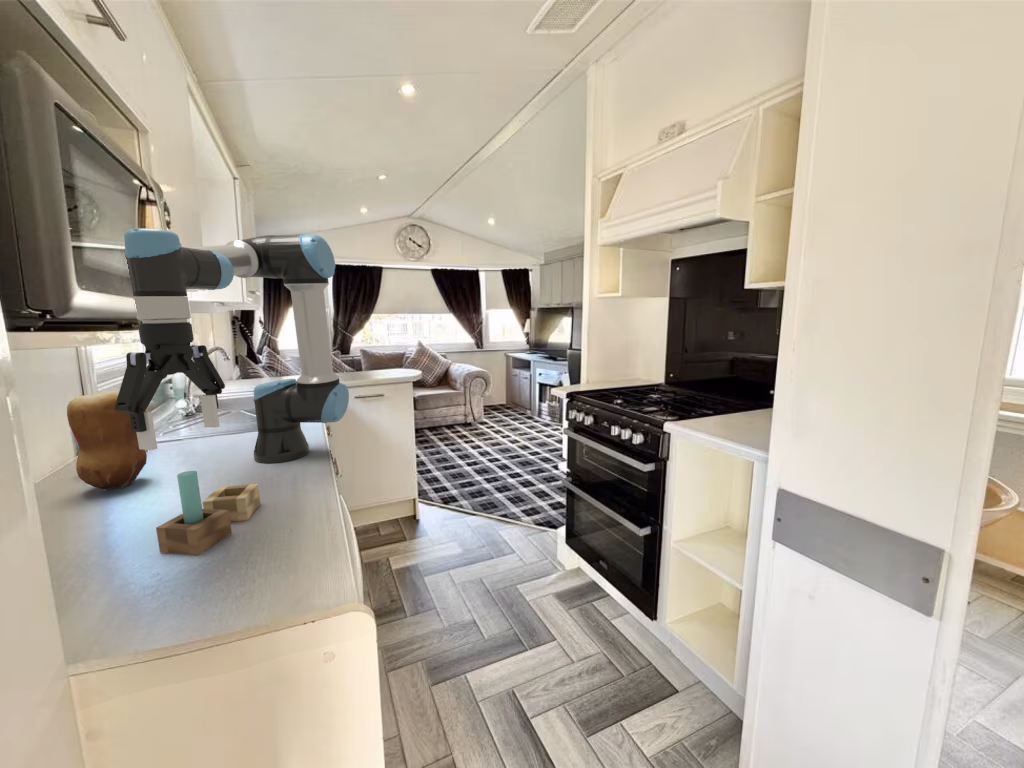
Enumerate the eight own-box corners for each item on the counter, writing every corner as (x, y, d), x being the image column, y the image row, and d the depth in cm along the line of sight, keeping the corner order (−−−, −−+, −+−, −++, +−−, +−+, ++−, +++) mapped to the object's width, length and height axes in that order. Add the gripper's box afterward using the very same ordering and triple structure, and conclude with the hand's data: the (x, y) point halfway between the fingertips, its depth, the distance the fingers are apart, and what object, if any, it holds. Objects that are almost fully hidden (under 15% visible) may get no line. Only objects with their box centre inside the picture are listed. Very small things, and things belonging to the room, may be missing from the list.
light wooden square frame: (221, 507, 100) (219, 486, 99) (260, 504, 101) (257, 483, 101) (205, 524, 92) (202, 501, 91) (247, 519, 94) (245, 497, 93)
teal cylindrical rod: (196, 538, 86) (187, 470, 84) (210, 539, 86) (200, 471, 84) (183, 546, 83) (172, 476, 81) (197, 547, 83) (187, 477, 81)
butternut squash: (81, 488, 112) (62, 392, 108) (148, 473, 121) (134, 384, 117) (81, 504, 102) (61, 399, 98) (154, 487, 112) (139, 391, 107)
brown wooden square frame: (196, 531, 89) (192, 508, 88) (231, 533, 88) (228, 510, 87) (160, 552, 81) (155, 527, 80) (198, 555, 80) (194, 529, 79)
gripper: (203, 319, 90) (217, 419, 94) (67, 325, 66) (94, 459, 70) (236, 318, 89) (249, 419, 93) (111, 324, 65) (135, 461, 69)
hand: (182, 437), depth 81 cm, fingers open, 13 cm apart
